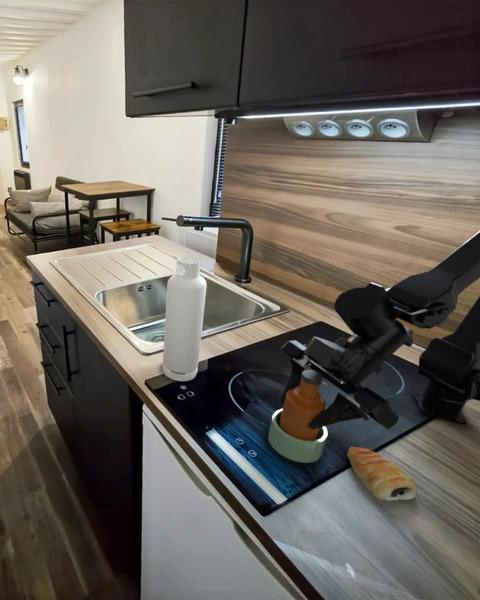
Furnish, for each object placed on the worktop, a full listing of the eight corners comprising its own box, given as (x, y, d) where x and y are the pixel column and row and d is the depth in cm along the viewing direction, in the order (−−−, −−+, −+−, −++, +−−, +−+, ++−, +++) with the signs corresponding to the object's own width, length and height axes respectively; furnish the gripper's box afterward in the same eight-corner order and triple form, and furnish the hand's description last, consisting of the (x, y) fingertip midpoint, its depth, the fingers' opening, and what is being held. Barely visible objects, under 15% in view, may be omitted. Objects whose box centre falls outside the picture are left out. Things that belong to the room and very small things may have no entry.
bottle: (156, 365, 89) (161, 257, 78) (183, 358, 92) (193, 251, 80) (175, 384, 83) (183, 269, 71) (204, 375, 85) (217, 262, 73)
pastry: (333, 456, 63) (339, 439, 61) (370, 452, 63) (376, 435, 62) (378, 506, 55) (386, 488, 53) (420, 501, 55) (429, 483, 53)
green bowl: (268, 423, 71) (273, 403, 69) (319, 437, 67) (326, 416, 65) (266, 454, 64) (270, 433, 62) (322, 472, 60) (329, 450, 58)
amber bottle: (276, 427, 69) (292, 361, 62) (312, 437, 66) (332, 369, 60) (275, 449, 64) (291, 380, 58) (313, 461, 62) (335, 390, 55)
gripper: (300, 299, 64) (236, 362, 67) (409, 355, 48) (319, 436, 50) (327, 331, 69) (266, 388, 72) (435, 392, 52) (351, 464, 55)
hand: (295, 414), depth 62 cm, fingers open, 6 cm apart
